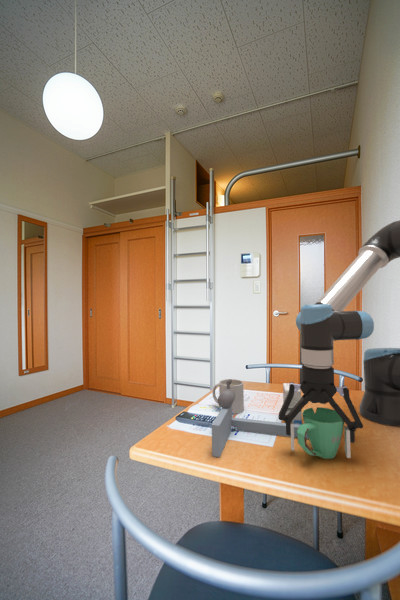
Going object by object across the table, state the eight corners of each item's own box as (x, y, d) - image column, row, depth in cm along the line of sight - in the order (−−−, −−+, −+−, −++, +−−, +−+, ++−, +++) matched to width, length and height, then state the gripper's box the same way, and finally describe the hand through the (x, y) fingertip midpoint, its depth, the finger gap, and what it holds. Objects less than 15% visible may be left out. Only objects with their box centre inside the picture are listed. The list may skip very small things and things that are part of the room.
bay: (325, 435, 81) (324, 385, 81) (337, 475, 62) (335, 410, 62) (224, 423, 90) (223, 378, 90) (207, 455, 71) (206, 398, 71)
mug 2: (318, 440, 78) (316, 404, 78) (354, 455, 69) (352, 415, 70) (284, 458, 69) (282, 418, 69) (321, 478, 61) (318, 433, 61)
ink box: (302, 429, 85) (301, 391, 85) (285, 428, 86) (285, 390, 86) (298, 418, 93) (297, 383, 93) (283, 417, 94) (282, 382, 94)
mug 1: (248, 411, 99) (248, 383, 99) (225, 416, 96) (224, 387, 96) (233, 402, 109) (233, 376, 109) (211, 405, 106) (211, 379, 106)
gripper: (367, 364, 70) (369, 450, 69) (268, 360, 77) (270, 438, 77) (377, 371, 63) (379, 467, 62) (267, 366, 70) (268, 452, 69)
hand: (319, 451), depth 69 cm, fingers open, 12 cm apart
